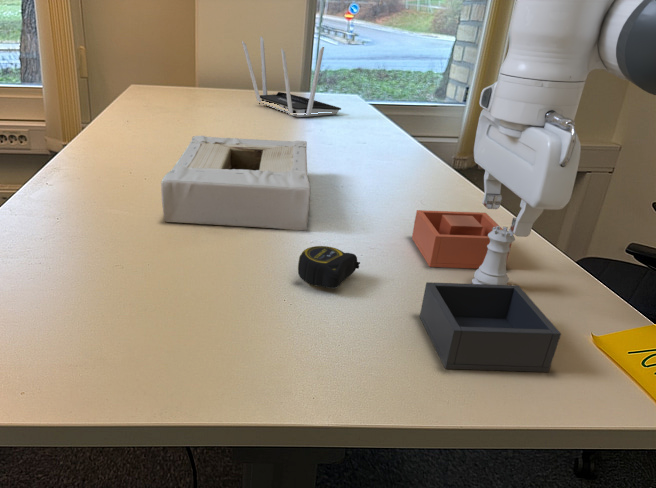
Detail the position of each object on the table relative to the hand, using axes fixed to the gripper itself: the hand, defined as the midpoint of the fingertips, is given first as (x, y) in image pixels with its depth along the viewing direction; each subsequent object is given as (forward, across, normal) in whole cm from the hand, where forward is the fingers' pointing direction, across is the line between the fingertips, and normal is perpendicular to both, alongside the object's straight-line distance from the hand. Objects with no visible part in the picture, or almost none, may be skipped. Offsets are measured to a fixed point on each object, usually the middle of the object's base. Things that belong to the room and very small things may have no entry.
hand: (503, 220), depth 72 cm
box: (+10, +34, +33) cm, 48 cm away
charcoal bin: (+9, -14, +6) cm, 18 cm away
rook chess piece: (+9, 0, 0) cm, 9 cm away
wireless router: (+10, +120, +20) cm, 122 cm away
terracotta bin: (+9, +11, +1) cm, 14 cm away
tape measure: (+10, 0, +21) cm, 23 cm away
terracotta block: (+9, +11, +1) cm, 14 cm away
